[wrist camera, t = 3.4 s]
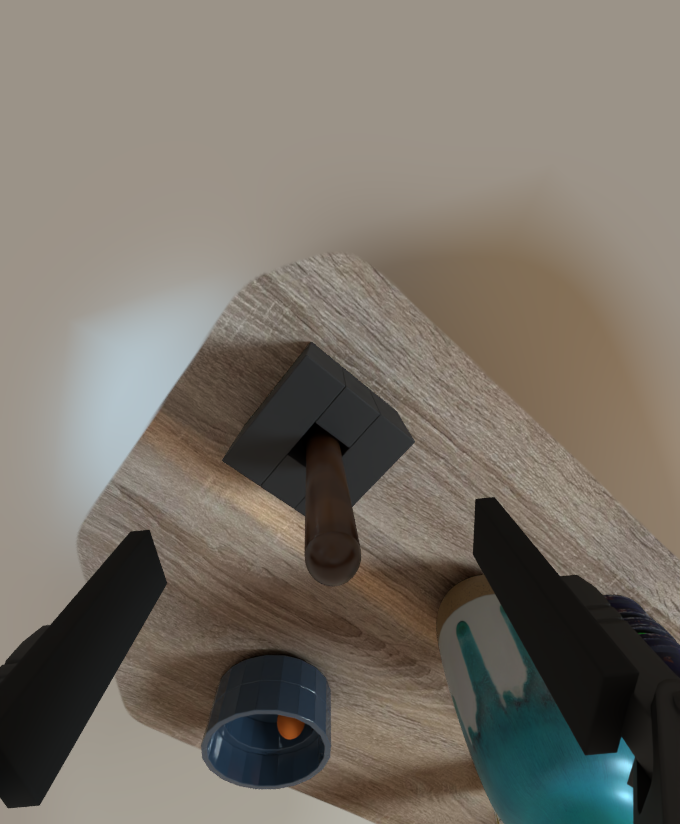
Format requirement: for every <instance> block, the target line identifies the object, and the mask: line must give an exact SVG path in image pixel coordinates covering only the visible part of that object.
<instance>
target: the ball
mask: <svg viewBox="0 0 680 824" xmlns="http://www.w3.org/2000/svg"><path fill="white" fill-rule="evenodd" d="M304 725H305V723H304V722H301V721H299V720H297V719H295V718H291V717H286V716H282V715H278V717H277V727H278V730H279V733H280V734H281V736H282V737H284V738H285V739H294V738H296V737H298V736H299V735H300V734H301V732H302V730H303V728H304Z"/></svg>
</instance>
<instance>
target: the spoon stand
mask: <svg viewBox="0 0 680 824" xmlns="http://www.w3.org/2000/svg"><path fill="white" fill-rule="evenodd" d="M314 422H316V423H317V424H318V425H319V426H321V427H322V428H323V429H325V430H326V431H327V432H329V433H330V434H331V435H333V436H334V437H335V438H337V439H338V440H339V445H340V450H341V455H342V460H343V465H344V469H345V474H346V479H347V484H348V489H349V494H350V499H351V504H352V507H353V506H354V505H355V503H356V502H357V501H358V500H359V499H360V498H361V497H362V496H363V495H364V494H365V493H366V492H367V491H368V490H369V489H370V488H371V487H372V486H373V485H374V484H375V483H376V482H377V481H378V480H379V479H380V478H381V477H382V476H383V475H384V474H385V472H386V471H387V470H388V469H389V468H390V467H391V466H392V465H393V464H394V463H395V462H396V461H397V460H398V459H399V458H400V457H401V456H402V455H403V454H404V453H405V452H406V451H407V450H408V449H409V448H410V447H411V446H412V445H413V444H414V443H415V441H414V439H413V438H412V436H411V434H410V433H409V431H408V429H407V428H406V426H405V424H404V423H403V421H402V419H401V418H400V416H399V414H398V413H397V411H396V410H394V409H393V408H392V407H391V406H390V405H388V404H387V403H386V402H385V401H383V400H382V399H381V398H380V397H379V396H377V395H376V394H375V393H374V392H372V391H371V390H370V389H369V388H368V387H366V386H365V385H364V384H363V383H361V382H360V381H359V380H358V379H357V378H355V377H354V376H353V375H352V374H350V373H349V372H348V371H347V370H346V369H344V368H343V367H341V365H339V364H338V363H337V362H336V361H334V360H333V359H332V358H331V357H330V356H328V355H327V354H326V353H325V352H324V351H322V350H321V349H320V348H319V347H317V346H316V345H315V344H314V343H313V342H310V344H309V345H308V346H307V347H306V349H305V350H304V351H303V352H302V354H301V355H300V356H299V357H298V359H297V360H296V361H295V362H294V364H293V365H292V366H291V367H290V369H289V370H288V371H287V373H286V374H285V375H284V376H283V378H282V379H281V380H280V381H279V383H278V384H277V385H276V386H275V388H274V389H273V390H272V391H271V393H270V394H269V395H268V397H267V398H266V399H265V400H264V402H263V403H262V404H261V405H260V407H259V408H258V409H257V410H256V412H255V413H254V414H253V415H252V417H251V418H250V419H249V421H248V422H247V423H246V424H245V426H244V427H243V429H242V430H241V432H240V433H239V435H238V436H237V438H236V439H235V441H234V442H233V444H232V445H231V447H230V448H229V450H228V452H227V453H226V455H225V456H224V458H223V459H222V461H223V462H224V463H226V464H227V465H229V466H231V467H232V468H234V469H235V470H237V471H238V472H240V473H241V474H243V475H244V476H246V477H247V478H249V479H250V480H252V481H253V482H255V483H256V484H258V485H259V486H260V485H261V487H262V488H263V489H265V490H266V491H268V492H270V493H271V494H273V495H274V496H276V497H277V498H279V499H280V500H282V501H283V502H285V503H286V504H288V505H289V506H291V507H292V508H294V509H295V510H297V511H298V512H300V513H301V514H303V515H304V516H305V497H306V433H307V431H308V429H309V428H310V427H311V426H312V425H313V424H314Z"/></svg>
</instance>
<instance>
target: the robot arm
mask: <svg viewBox="0 0 680 824" xmlns="http://www.w3.org/2000/svg"><path fill="white" fill-rule="evenodd" d="M473 556H474V557H475V559H476V561H477V563H478V565H479V566H480V568H481V570H482V572H483V573H484V575H485V577H486V579H487V581H488V582H489V584H490V586H491V588H492V590H493V591H494V593H495V595H496V597H497V599H498V600H499V602H500V604H501V606H502V608H503V609H504V611H505V613H506V615H507V617H508V618H509V620H510V622H511V624H512V626H513V627H514V629H515V631H516V633H517V634H518V636H519V638H520V640H521V642H522V643H523V645H524V647H525V649H526V651H527V652H528V654H529V656H530V658H531V660H532V661H533V663H534V665H535V667H536V669H537V670H538V672H539V674H540V676H541V678H542V679H543V681H544V683H545V685H546V687H547V688H548V690H549V692H550V694H551V695H552V697H553V699H554V701H555V703H556V704H557V706H558V708H559V710H560V712H561V713H562V715H563V717H564V719H565V721H566V722H567V724H568V726H569V728H570V730H571V731H572V733H573V735H574V737H575V739H576V740H577V742H578V744H579V746H580V748H581V749H582V751H583V753H584V755H585V756H586V755H596V754H607V753H617V751H618V747H619V744H620V740H621V737H622V738H623V740H624V741H625V743H626V744H627V746H628V747H629V749H630V750H631V752H632V753H633V755H634V756H635V759H634V762H633V765H632V768H631V771H630V775H629V778H628V782H627V784H628V785H629V786H631V787H632V788H633V824H680V678H679V677H678V676H677V675H676V674H675V673H674V672H673V671H672V670H671V669H670V668H669V667H668V666H667V665H666V664H665V663H664V661H663V660H662V659H661V658H660V657H659V656H658V655H657V654H656V653H655V652H654V651H653V649H652V648H651V647H650V646H649V645H648V644H647V643H646V642H645V641H644V640H643V639H642V637H641V636H640V635H639V634H638V633H637V632H636V631H635V630H634V629H633V628H632V627H631V626H630V624H629V623H628V622H627V621H624V620H623V617H622V616H621V615H620V614H619V612H618V611H617V610H616V609H615V608H614V607H611V605H610V603H609V602H608V600H607V599H606V598H605V597H604V596H603V595H602V594H601V593H600V592H599V591H598V590H597V588H595V587H594V586H593V585H591V584H590V583H588V582H587V581H585V580H584V579H582V578H581V577H579V576H578V575H569V576H559V575H558V573H557V572H556V571H555V570H554V568H553V567H552V566H551V565H550V564H549V562H548V561H547V560H546V559H545V558H544V556H543V555H542V554H541V553H540V552H539V550H538V549H537V548H536V547H535V546H534V544H533V543H532V542H531V541H530V539H529V538H528V537H527V536H526V535H525V533H524V532H523V531H522V530H521V529H520V527H519V526H518V525H517V524H516V523H515V521H514V520H513V519H512V518H511V517H510V515H509V514H508V513H507V512H506V510H505V509H504V508H503V507H502V506H501V504H500V503H499V502H498V501H497V500H496V498H495V497H492V498H481V499H475V520H474V543H473ZM166 584H167V581H166V578H165V575H164V572H163V569H162V566H161V563H160V560H159V557H158V554H157V551H156V548H155V545H154V542H153V539H152V536H151V533H150V530H143V531H132V532H130V533H129V534H128V535H127V536H126V538H125V539H124V540H123V541H122V542H121V543H120V545H119V546H118V547H117V548H116V549H115V550H114V552H113V553H112V554H111V555H110V556H109V557H108V558H107V560H106V561H105V562H104V563H103V564H102V565H101V567H100V568H99V569H98V570H97V571H96V572H95V574H94V575H93V576H92V577H91V578H90V579H89V581H88V582H87V583H86V584H85V585H84V586H83V588H82V589H81V590H80V591H79V592H78V594H77V595H76V596H75V597H74V598H73V599H72V600H71V602H70V603H69V604H68V605H67V606H66V608H65V609H64V610H63V611H62V612H61V613H60V614H59V616H58V617H57V618H56V619H55V620H54V621H53V623H52V624H51V625H46V626H42V627H41V628H40V629H38V630H37V631H36V632H35V633H33V634H32V635H31V636H30V637H28V638H27V639H26V640H25V641H23V642H22V643H21V644H20V645H19V647H18V648H17V649H16V650H15V651H14V652H13V653H12V654H11V656H10V657H9V658H8V659H7V660H6V662H5V664H4V665H2V666H1V667H0V798H1V799H2V801H3V802H4V804H5V805H6V806H7V808H17V807H28V806H39V805H40V804H41V802H42V800H43V798H44V797H45V795H46V793H47V792H48V790H49V788H50V787H51V785H52V783H53V781H54V780H55V778H56V776H57V774H58V773H59V771H60V769H61V767H62V765H63V764H64V762H65V760H66V759H67V757H68V755H69V753H70V752H71V750H72V748H73V746H74V745H75V743H76V741H77V739H78V738H79V736H80V734H81V732H82V731H83V729H84V727H85V726H86V724H87V722H88V720H89V718H90V717H91V715H92V713H93V712H94V710H95V708H96V706H97V704H98V703H99V701H100V699H101V698H102V696H103V694H104V692H105V691H106V689H107V687H108V685H109V684H110V682H111V680H112V679H113V677H114V675H115V673H116V672H117V670H118V668H119V666H120V665H121V663H122V661H123V659H124V658H125V656H126V654H127V652H128V651H129V649H130V647H131V645H132V644H133V642H134V640H135V638H136V637H137V635H138V633H139V631H140V630H141V628H142V626H143V625H144V623H145V621H146V619H147V618H148V616H149V614H150V612H151V611H152V609H153V607H154V605H155V604H156V602H157V600H158V598H159V597H160V595H161V593H162V591H163V590H164V588H165V586H166Z"/></svg>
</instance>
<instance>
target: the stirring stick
mask: <svg viewBox="0 0 680 824" xmlns="http://www.w3.org/2000/svg"><path fill="white" fill-rule="evenodd" d="M360 562H361V549H360V544H359V539H358V534H357V529H356V524H355V519H354V514H353V509H352V504H351V499H350V494H349V489H348V484H347V479H346V474H345V469H344V465H343V460H342V455H341V450H340V445H339V440H338V439H337V438H335V437H334V436H333V435H331V434H330V433H329V432H327V431H326V430H325V429H323V428H322V427H321V426H319V425H318V424H317V423H316V422H314V424H313V425H312V426H311V427H310V428H309V429H308V431H307V433H306V497H305V563H306V567H307V569H308V571H309V573H310V575H311V576H312V577H313V578H314V579H315V580H316V581H318V582H319V583H321V584H323V585H326V586H339V585H342V584H345V583H346V582H348V581H349V580H350V579H351V578H353V576H354V575H355V574H356V572H357V570H358V568H359V566H360Z"/></svg>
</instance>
